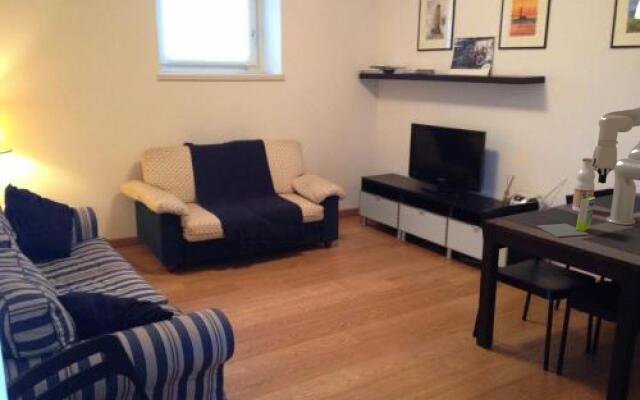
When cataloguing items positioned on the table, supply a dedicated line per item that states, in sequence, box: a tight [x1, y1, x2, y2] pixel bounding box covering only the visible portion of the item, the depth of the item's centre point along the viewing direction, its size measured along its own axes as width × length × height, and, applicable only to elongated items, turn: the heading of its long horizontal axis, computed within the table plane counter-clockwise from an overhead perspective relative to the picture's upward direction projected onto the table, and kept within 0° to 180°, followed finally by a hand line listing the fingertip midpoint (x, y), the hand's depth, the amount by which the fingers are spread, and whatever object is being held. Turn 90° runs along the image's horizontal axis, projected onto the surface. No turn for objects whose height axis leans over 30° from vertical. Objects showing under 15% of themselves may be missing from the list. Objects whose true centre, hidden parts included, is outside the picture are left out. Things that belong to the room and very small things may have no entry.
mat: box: [536, 223, 590, 238], centre depth 259 cm, size 16×17×1 cm
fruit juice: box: [571, 157, 596, 213], centre depth 290 cm, size 9×9×28 cm
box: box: [575, 192, 596, 232], centre depth 258 cm, size 10×4×17 cm, turn 139°
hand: (601, 182), depth 256 cm, fingers closed
